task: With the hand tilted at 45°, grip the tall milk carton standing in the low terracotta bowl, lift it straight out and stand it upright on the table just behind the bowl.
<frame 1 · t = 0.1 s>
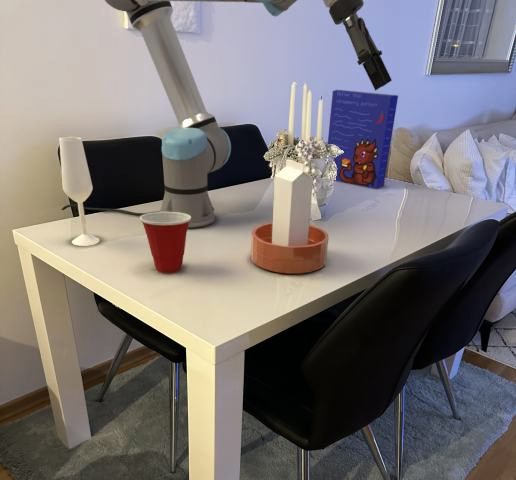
hand: (384, 85, 122), 36 cm above the table, tool tilted 35°, fingers open, 13 cm apart
plastic cup: (168, 268, 113), on the table
milk: (288, 259, 119), resting on bowl
champagne flute: (86, 241, 126), on the table
bowl: (288, 260, 119), on the table
cereal box: (353, 182, 188), on the table
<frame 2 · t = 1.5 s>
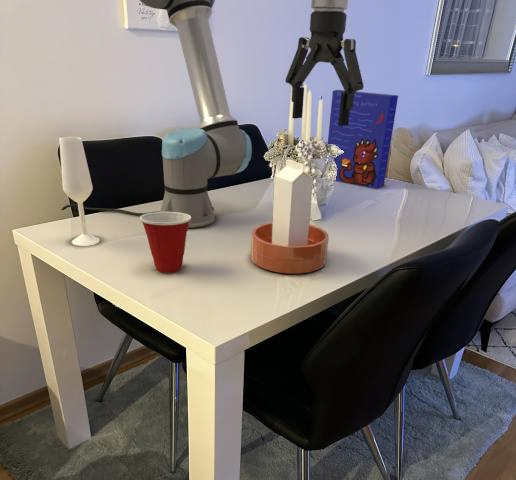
hand: (319, 121, 116), 29 cm above the table, tool pointing down, fingers open, 13 cm apart
nothing on the table moved.
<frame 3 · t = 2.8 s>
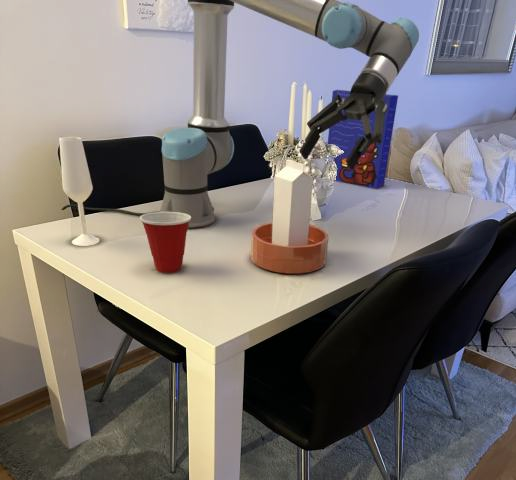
hand: (324, 160, 114), 21 cm above the table, tool tilted 45°, fingers open, 13 cm apart
nothing on the table moved.
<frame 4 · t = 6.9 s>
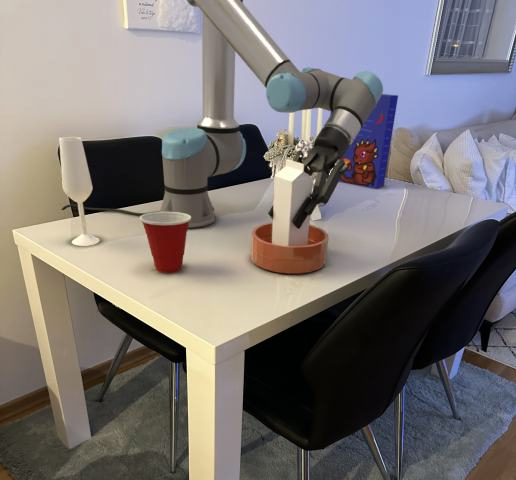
hand: (283, 221, 113), 10 cm above the table, tool tilted 45°, fingers closed on milk, 7 cm apart
milk: (288, 259, 119), resting on bowl, touching gripper
everything else where it was.
when the fingers open (10 cm above the table, at t = 17.6 s): milk stays where it is, on the table.
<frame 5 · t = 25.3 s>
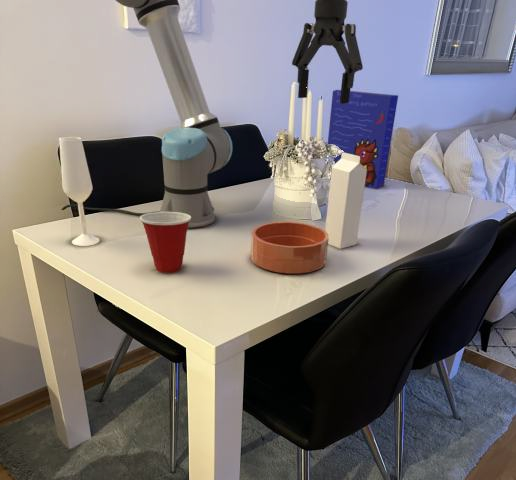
hand: (322, 100, 128), 32 cm above the table, tool pointing down, fingers open, 13 cm apart
milk: (340, 244, 130), on the table
everything else where it was.
at the end: milk inside the target area (0.7 cm from its centre), on the table; milk tilted 0°; milk touching table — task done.
